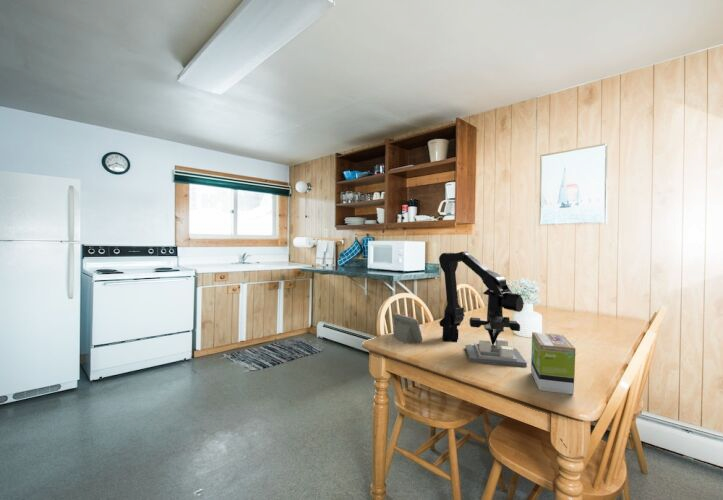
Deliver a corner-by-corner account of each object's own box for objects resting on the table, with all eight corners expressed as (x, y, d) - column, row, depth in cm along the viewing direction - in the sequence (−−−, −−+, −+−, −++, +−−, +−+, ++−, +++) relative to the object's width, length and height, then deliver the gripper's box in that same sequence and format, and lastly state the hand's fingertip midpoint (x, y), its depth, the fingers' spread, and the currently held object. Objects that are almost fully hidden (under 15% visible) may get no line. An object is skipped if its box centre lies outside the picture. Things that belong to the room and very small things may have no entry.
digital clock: (424, 343, 153) (424, 319, 153) (406, 345, 150) (407, 320, 149) (405, 333, 168) (405, 311, 168) (388, 334, 164) (389, 312, 164)
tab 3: (501, 359, 130) (502, 348, 130) (499, 355, 134) (500, 345, 134) (513, 360, 130) (513, 349, 130) (510, 356, 133) (511, 346, 133)
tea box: (529, 372, 123) (531, 330, 122) (561, 376, 120) (563, 333, 119) (538, 390, 108) (540, 343, 108) (574, 395, 105) (577, 347, 105)
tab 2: (497, 350, 140) (497, 340, 140) (495, 347, 144) (495, 338, 144) (507, 351, 139) (508, 341, 139) (505, 348, 143) (506, 338, 143)
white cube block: (480, 353, 137) (480, 343, 137) (478, 350, 140) (479, 340, 140) (490, 354, 136) (491, 343, 136) (489, 351, 139) (489, 341, 139)
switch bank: (469, 361, 132) (470, 355, 131) (465, 348, 147) (465, 342, 147) (526, 366, 128) (526, 360, 128) (516, 352, 143) (516, 346, 143)
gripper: (473, 309, 135) (471, 348, 136) (524, 313, 132) (522, 353, 132) (470, 303, 146) (468, 340, 147) (517, 307, 143) (515, 344, 143)
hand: (492, 344), depth 142 cm, fingers closed
